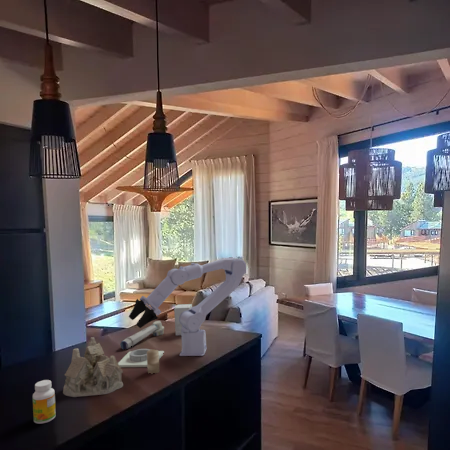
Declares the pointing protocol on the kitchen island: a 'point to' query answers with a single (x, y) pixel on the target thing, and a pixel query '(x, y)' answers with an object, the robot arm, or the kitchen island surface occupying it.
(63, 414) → the kitchen island surface
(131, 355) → the collar plate
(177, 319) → the supplement box
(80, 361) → the ceramic cottage
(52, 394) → the supplement bottle
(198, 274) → the robot arm
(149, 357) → the maple peg
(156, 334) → the white handheld device
